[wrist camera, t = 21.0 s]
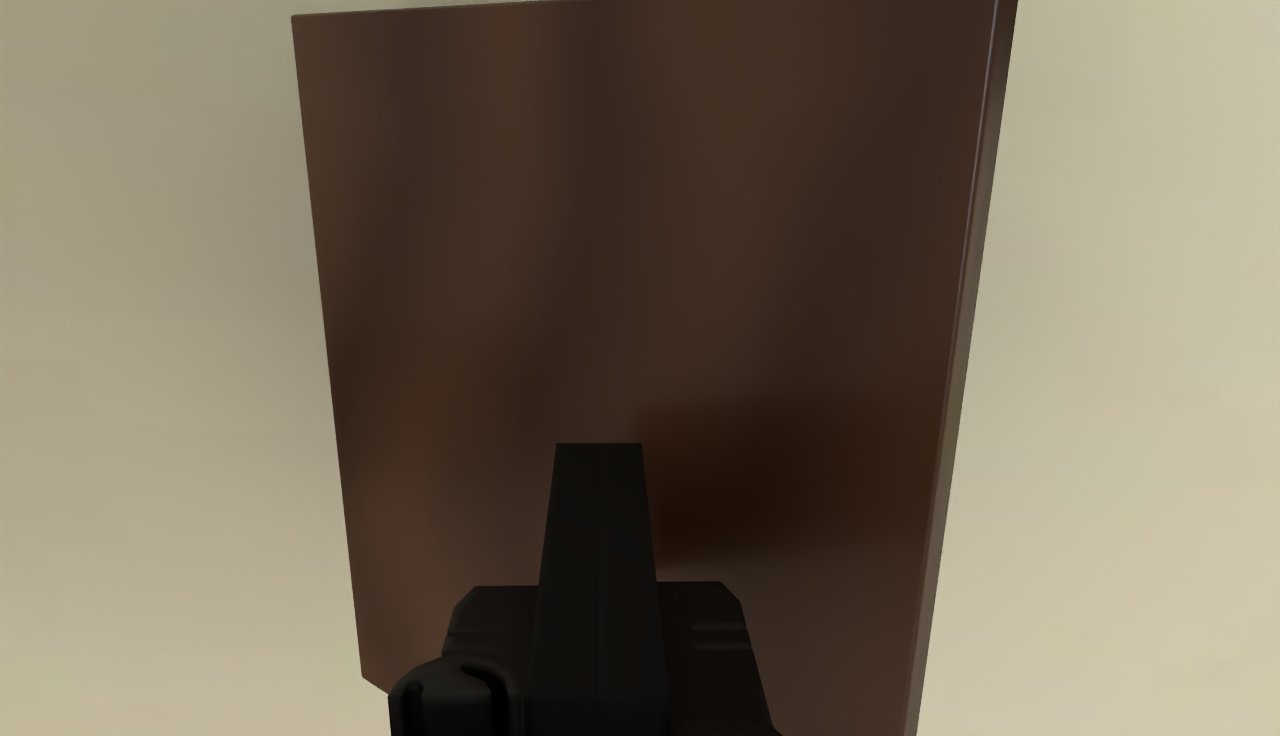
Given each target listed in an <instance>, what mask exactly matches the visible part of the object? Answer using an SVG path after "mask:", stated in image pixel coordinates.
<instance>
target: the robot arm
mask: <svg viewBox="0 0 1280 736" xmlns="http://www.w3.org/2000/svg"><path fill="white" fill-rule="evenodd" d="M388 706H389V716H390V727H391V736H783V735H782V734H781V733H779V732H778V731H777V730H776V729H775V728H774V726H773V724H772V720H771V716H770V712H769V709H768V705H767V701H766V697H765V693H764V690H763V686H762V682H761V678H760V675H759V671H758V667H757V663H756V659H755V656H754V652H753V650H752V644H751V641H750V637H749V633H748V630H747V628H746V622H745V618H744V614H743V610H742V606H741V603H740V601H739V600H738V599H737V598H736V597H735V596H734V595H733V594H732V593H731V592H730V590H729V589H728V588H727V587H726V586H725V585H724V584H723V583H722V582H721V581H681V582H657V579H656V570H655V561H654V552H653V542H652V533H651V524H650V515H649V505H648V496H647V487H646V478H645V469H644V459H643V450H642V443H556V450H555V458H554V466H553V474H552V482H551V490H550V497H549V505H548V513H547V521H546V529H545V537H544V544H543V552H542V560H541V568H540V576H539V584H538V585H525V586H474V587H473V588H472V589H471V590H470V591H469V592H468V593H467V594H466V595H465V596H464V597H463V598H462V600H461V601H460V602H459V603H458V604H457V605H456V606H455V607H454V609H453V613H452V616H451V620H450V623H449V627H448V630H447V636H446V637H445V641H444V645H443V648H442V652H441V657H439V658H436V659H434V660H431V661H429V662H426V663H423V664H421V665H418V666H416V667H415V668H413V669H412V670H411V671H409V672H408V673H407V674H405V675H404V676H403V677H401V678H400V679H399V680H398V681H397V683H396V684H395V686H394V687H393V689H392V690H391V692H390V693H389V695H388Z"/></svg>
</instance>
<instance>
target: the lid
mask: <svg viewBox="0 0 1280 736" xmlns="http://www.w3.org/2000/svg"><path fill="white" fill-rule="evenodd" d="M1017 4H1018V0H544V1H526V2H509V3H491V4H474V5H456V6H438V7H421V8H403V9H386V10H368V11H351V12H333V13H316V14H298V15H292V16H291V23H292V33H293V42H294V51H295V61H296V70H297V79H298V88H299V98H300V107H301V116H302V125H303V135H304V144H305V153H306V163H307V172H308V181H309V190H310V200H311V209H312V218H313V228H314V237H315V246H316V255H317V265H318V274H319V283H320V293H321V302H322V311H323V320H324V330H325V339H326V348H327V357H328V367H329V376H330V385H331V395H332V404H333V413H334V422H335V432H336V441H337V450H338V460H339V469H340V478H341V487H342V497H343V506H344V515H345V525H346V534H347V543H348V552H349V562H350V571H351V580H352V589H353V599H354V608H355V617H356V627H357V636H358V645H359V654H360V664H361V673H362V677H363V678H364V679H366V680H367V681H369V682H370V683H372V684H373V685H375V686H376V687H378V688H379V689H381V690H382V691H384V692H385V693H387V694H388V695H389V693H390V692H391V690H392V689H393V687H394V686H395V684H396V683H397V681H398V680H399V679H400V678H401V677H403V676H404V675H405V674H407V673H408V672H409V671H411V670H412V669H413V668H415V667H416V666H418V665H421V664H423V663H426V662H429V661H431V660H434V659H436V658H439V657H441V652H442V648H443V645H444V641H445V637H446V636H447V630H448V627H449V623H450V620H451V616H452V613H453V609H454V607H455V606H456V605H457V604H458V603H459V602H460V601H461V600H462V598H463V597H464V596H465V595H466V594H467V593H468V592H469V591H470V590H471V589H472V588H473V587H474V586H525V585H538V584H539V576H540V568H541V560H542V552H543V544H544V537H545V529H546V521H547V513H548V505H549V497H550V490H551V482H552V474H553V466H554V458H555V450H556V443H642V450H643V459H644V469H645V478H646V487H647V496H648V505H649V515H650V524H651V533H652V542H653V552H654V561H655V570H656V579H657V582H681V581H721V582H722V583H723V584H724V585H725V586H726V587H727V588H728V589H729V590H730V592H731V593H732V594H733V595H734V596H735V597H736V598H737V599H738V600H739V601H740V603H741V606H742V610H743V614H744V618H745V622H746V628H747V630H748V633H749V637H750V641H751V644H752V650H753V652H754V656H755V659H756V663H757V667H758V671H759V675H760V678H761V682H762V686H763V690H764V693H765V697H766V701H767V705H768V709H769V712H770V716H771V720H772V724H773V726H774V728H775V729H776V730H777V731H778V732H779V733H781V734H782V735H783V736H916V734H917V727H918V720H919V712H920V705H921V698H922V691H923V683H924V676H925V669H926V662H927V655H928V647H929V640H930V633H931V626H932V618H933V611H934V604H935V597H936V589H937V582H938V575H939V568H940V561H941V553H942V546H943V539H944V532H945V524H946V517H947V510H948V503H949V495H950V488H951V481H952V474H953V467H954V459H955V452H956V445H957V438H958V430H959V423H960V416H961V409H962V401H963V394H964V387H965V380H966V373H967V365H968V358H969V351H970V344H971V336H972V329H973V322H974V315H975V307H976V300H977V293H978V286H979V279H980V271H981V264H982V257H983V250H984V242H985V235H986V228H987V221H988V213H989V206H990V199H991V192H992V185H993V177H994V170H995V163H996V156H997V148H998V141H999V134H1000V127H1001V119H1002V112H1003V105H1004V98H1005V91H1006V83H1007V76H1008V69H1009V62H1010V54H1011V47H1012V40H1013V33H1014V25H1015V18H1016V11H1017Z"/></svg>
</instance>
